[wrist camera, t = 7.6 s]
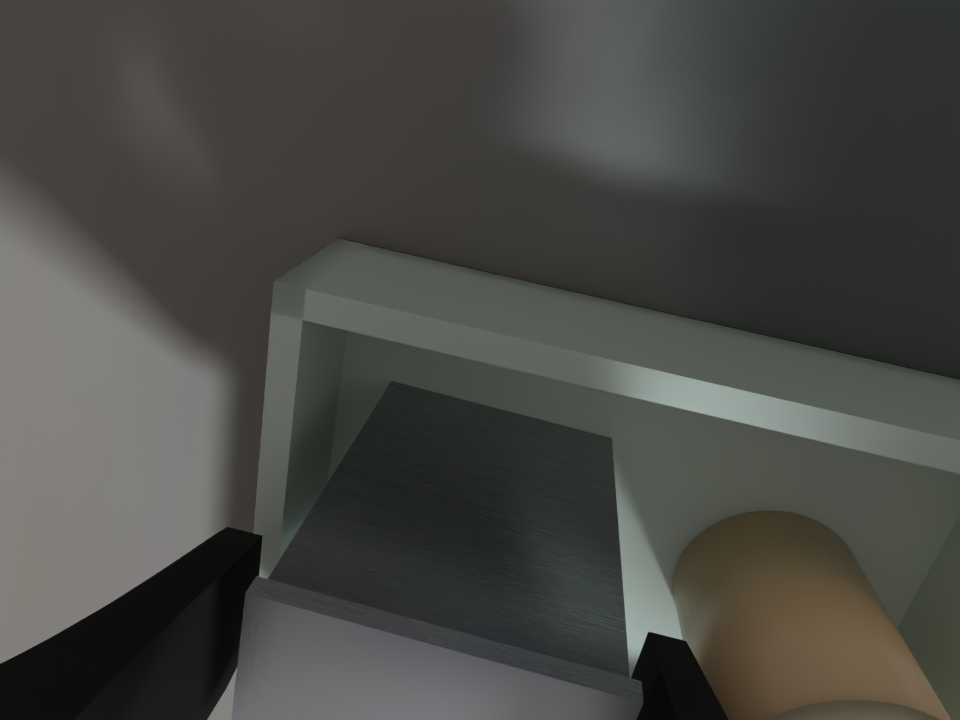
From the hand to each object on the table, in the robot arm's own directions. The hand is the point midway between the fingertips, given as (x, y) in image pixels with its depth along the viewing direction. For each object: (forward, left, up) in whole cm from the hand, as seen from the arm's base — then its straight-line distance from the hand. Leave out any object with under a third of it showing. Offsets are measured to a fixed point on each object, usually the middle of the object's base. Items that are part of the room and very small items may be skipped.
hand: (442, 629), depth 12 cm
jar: (-6, 0, -3) cm, 7 cm away
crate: (-3, 0, -4) cm, 5 cm away
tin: (0, 0, -3) cm, 3 cm away
